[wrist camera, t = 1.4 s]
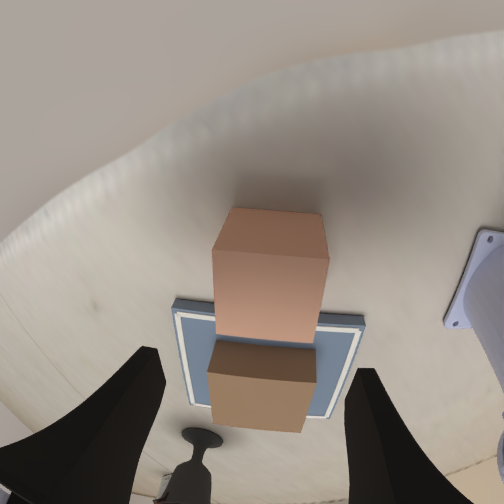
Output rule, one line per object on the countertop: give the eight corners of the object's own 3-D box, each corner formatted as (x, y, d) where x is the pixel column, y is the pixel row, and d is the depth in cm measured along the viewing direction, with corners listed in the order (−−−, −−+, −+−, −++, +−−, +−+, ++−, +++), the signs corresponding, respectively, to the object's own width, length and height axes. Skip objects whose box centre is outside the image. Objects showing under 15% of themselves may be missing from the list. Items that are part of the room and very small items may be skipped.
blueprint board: (363, 315, 20) (372, 359, 17) (329, 410, 26) (330, 446, 23) (175, 298, 22) (156, 338, 18) (192, 396, 28) (181, 430, 24)
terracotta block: (320, 214, 17) (329, 259, 13) (310, 287, 20) (312, 343, 16) (232, 206, 18) (212, 249, 14) (232, 280, 20) (216, 333, 16)
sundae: (204, 419, 30) (172, 546, 17) (241, 446, 32) (221, 559, 19) (163, 426, 32) (127, 535, 19) (199, 451, 34) (174, 551, 21)
